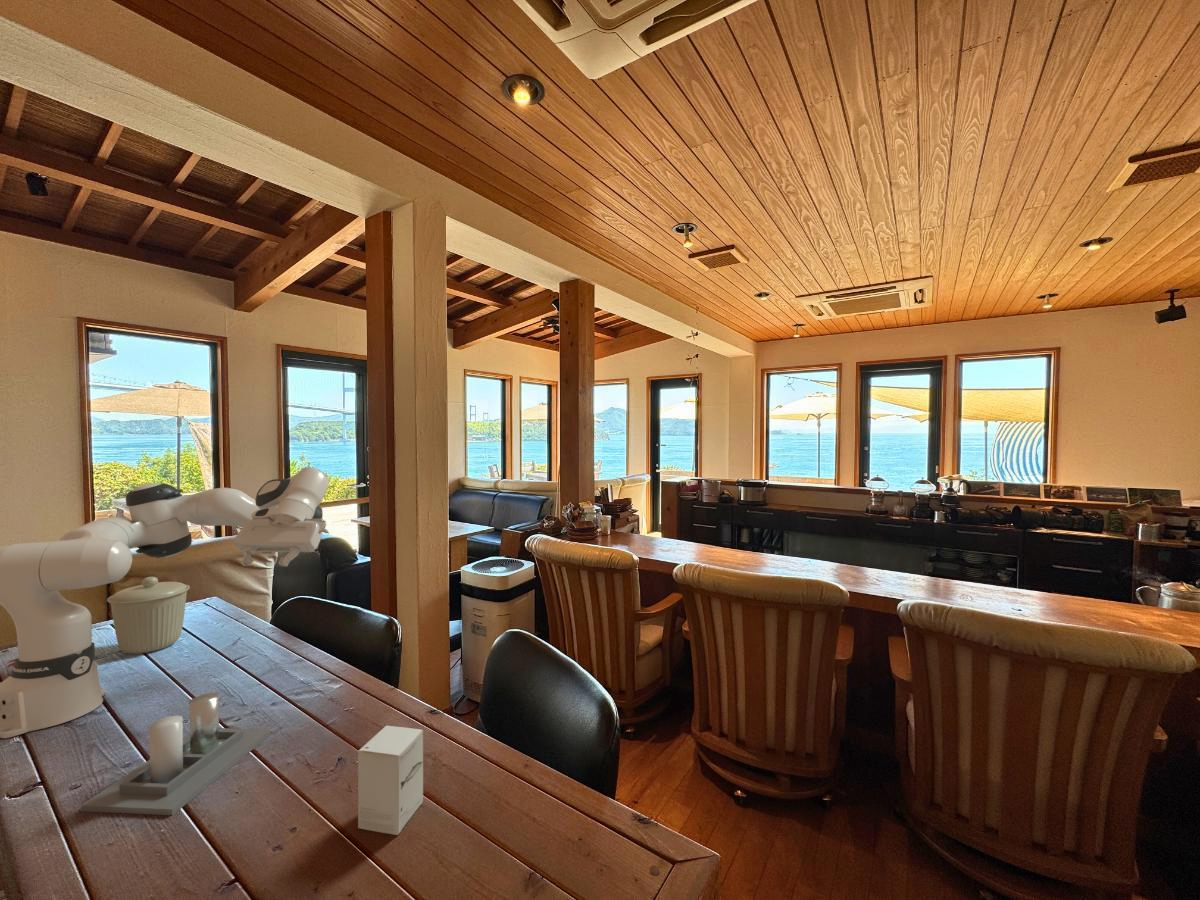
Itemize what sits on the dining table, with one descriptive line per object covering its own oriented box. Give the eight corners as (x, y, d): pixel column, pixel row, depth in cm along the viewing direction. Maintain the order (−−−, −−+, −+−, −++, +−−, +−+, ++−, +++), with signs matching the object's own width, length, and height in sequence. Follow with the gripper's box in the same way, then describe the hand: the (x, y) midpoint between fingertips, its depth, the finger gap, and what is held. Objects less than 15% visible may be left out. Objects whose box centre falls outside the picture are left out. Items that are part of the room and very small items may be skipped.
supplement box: (398, 837, 75) (397, 756, 75) (356, 829, 77) (355, 750, 76) (424, 802, 82) (424, 728, 82) (386, 795, 84) (385, 723, 84)
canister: (156, 633, 155) (155, 568, 155) (206, 636, 153) (205, 570, 152) (89, 658, 137) (88, 584, 137) (144, 662, 135) (143, 587, 135)
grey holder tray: (80, 811, 80) (79, 745, 80) (198, 732, 102) (197, 680, 102) (172, 815, 79) (171, 749, 79) (270, 734, 101) (270, 682, 101)
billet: (183, 756, 93) (183, 704, 93) (203, 742, 97) (203, 692, 97) (205, 757, 92) (205, 705, 92) (224, 742, 97) (224, 693, 97)
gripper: (334, 526, 129) (310, 572, 120) (260, 525, 130) (231, 571, 121) (323, 511, 125) (298, 558, 115) (247, 511, 126) (216, 557, 116)
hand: (263, 565), depth 118 cm, fingers open, 8 cm apart
